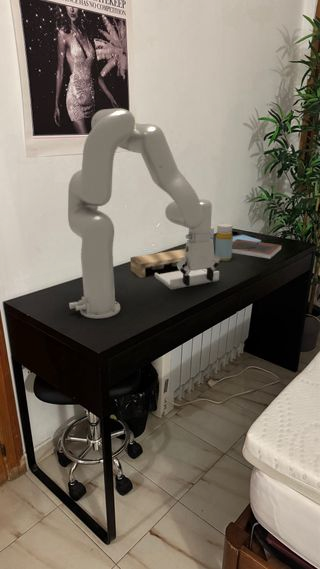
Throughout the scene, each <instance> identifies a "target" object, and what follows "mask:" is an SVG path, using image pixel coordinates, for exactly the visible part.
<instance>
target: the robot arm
mask: <svg viewBox="0 0 320 569" xmlns="http://www.w3.org/2000/svg"><path fill="white" fill-rule="evenodd" d="M90 123H91V130H90V132H89V133H88V135H87V137H86V139H85V142H84V144H83V150H82V162H81V169H79V170H78V171H76V172H74V174H73V175H72V176H71V178H70V180H69V183H68V189H67V190H68V196H67V197H68V199H67V203H68V204H67V220H68V226H69V228H70V230H71V231H72V232H73V233H74V234H75V235H76V236H78V237H79V238H81V248H80V250H81V251H80V260H81V261H80V262H81V273H82V274H81V275H82V287H83V289H82V290H83V296H81V299H79V300H78V301H73V302H68V306H69V307H68V308H69V310H73V309H75V311H80V314H81V315H82V316H83V317H85V318H90V319H98V320H99V319H105V318H110V317H113V316H115V315H117V314H118V313H119V312H120V311H121V305H120V303H119V302H117V301H116V297H115V296H116V295H115V293H116V292H115V272H114V256H113V255H114V254H113V253H114V251H113V250H114V249H113V248H114V241H115V240H114V239H115V226H114V223H113V221H112V219H111V217H109V215H107V214H106V213H105V212H102V211H100V210H98V209H99V208H98V207H103V206H105V205H106V204H107V203H109V202H110V199H111V198H112V191H113V172H114V170H113V168H114V159H115V158H114V157H115V154H116V152H117V150H118V148H121V149H123V150H126V151H128V152H132V153H137V154H140V155H141V157H142V160H143V161H144V164H145V166H146V168H147V170H148V173H149V175H150V177H151V179H152V181H153V183H154V184H155V185H156V186H158V188H159V189H161V190H162V191H163V192H165V193H166V194H167V195H168V196H169V197H170V198H171V199H172V200H173V201H171V202H170V203H169V204H168V205H167V206H166V207H165V212H164V213H165V217H166V219H167V220H168V221H169V222H171V223H173V224H176V225H178V226H181V227H185V228H187V229H188V231H187V234H186V235H185V239H186V244H185V248H184V249H185V257H184V259H182V260H181V261H180V262H178V263H177V264H176V265H177V266H176V267H177V269H178V271H181V272H182V273H183V283H184V284H185V285H187V287H190V286H189V285H190V276H189V275H188V274H189V273H190V271H191V270H200V269H207V279H208V280H209V281H213V274H214V271H216V268H217V267H218V266H219V262H221V261H220V257H218V256H216V255H215V245H214V239H213V240H212V239H211V224H212V211H213V205H212V202H211V201H210V200H207V199H199V196H198V194H197V192H196V191H195V189H194V188H193V186H192V185H191V184H190V182H189V181H188V180H187V179H186V177H185V176H184V175H183V173H182V172H181V171H180V170H179V168H178V166H177V163H176V161H175V158H174V155H173V153H172V151H171V148H170V146H169V143H168V141H167V138H166V136H165V133H164V132H163V130H162V128H161V127H159V126H157V125H155V124H151V123H137V122H136V119H135V116H134V114H133V113H132V112H131V111H130V110H128V109H125V108H120V107H119V108H116V107H115V108H108V109H107V108H106V109H104V108H103V109H100V110H98V111H97V112H95V114H94V115H93V116H92V118H91V122H90ZM187 239H188V240H187ZM183 265H184V267H183ZM213 282H214V281H213Z"/></svg>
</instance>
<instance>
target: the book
mask: <svg viewBox="0 0 320 569" xmlns="http://www.w3.org/2000/svg"><path fill="white" fill-rule="evenodd" d="M281 250H282V244H274V243H265V242H262V241H261V242H255V241H248V240H241V239H237V240H235V241H233V242H232V254H239V255H243V256H244V255H246V256H252V257H257V258H264V259H269V260H270V259H272V258H273V257H274V256H275V255H276V254H277V253H279V252H280V251H281Z"/></svg>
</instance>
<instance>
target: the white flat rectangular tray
mask: <svg viewBox="0 0 320 569" xmlns="http://www.w3.org/2000/svg"><path fill="white" fill-rule="evenodd" d="M207 269H208V268H206V269H200V270H191V271H190V273H189V274H188V275H189V276H190V285H189V286H187V285H185V284H184V283H183V273H182V272H181V271H179V270H175V271H170V272H165V273H160V274H159V273H158V272H155V273H154V278H155V279H156V280H158V281H159V282H161V283H163V285H164V286H166V287H167V288H169V289H170V290H176V289H182V288H186V287H191V286H198V285H202V284H206V283H213V282H218V281H220V271H219V270H215V271H214V274H213V281H209V280H208V279H207Z"/></svg>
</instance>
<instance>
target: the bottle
mask: <svg viewBox="0 0 320 569" xmlns="http://www.w3.org/2000/svg"><path fill="white" fill-rule="evenodd" d="M216 227H217V228H216V230H217V231H216V235H215V245H214V255H216V256H218V257H220V261H219V262H229V261H230V260H231V259H232V256H233V255H232V254H233V253H232V241H233V237H234V236H233V224H231V223H224V222H223V223H218V224H217V226H216Z"/></svg>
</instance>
